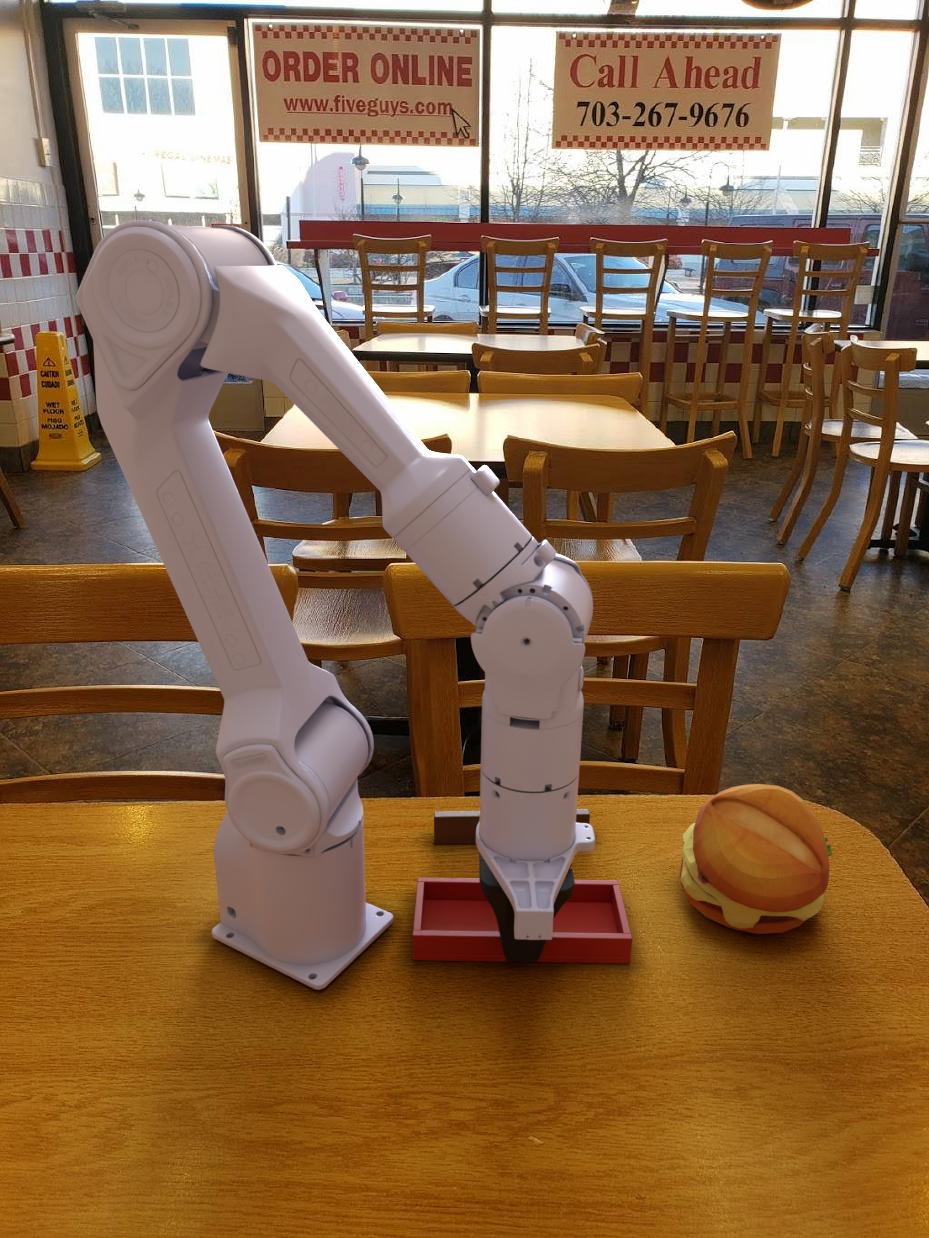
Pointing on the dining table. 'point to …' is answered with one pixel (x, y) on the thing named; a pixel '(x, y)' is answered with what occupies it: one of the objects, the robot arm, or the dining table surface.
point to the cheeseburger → (756, 860)
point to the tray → (468, 930)
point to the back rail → (470, 825)
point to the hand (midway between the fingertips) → (521, 955)
